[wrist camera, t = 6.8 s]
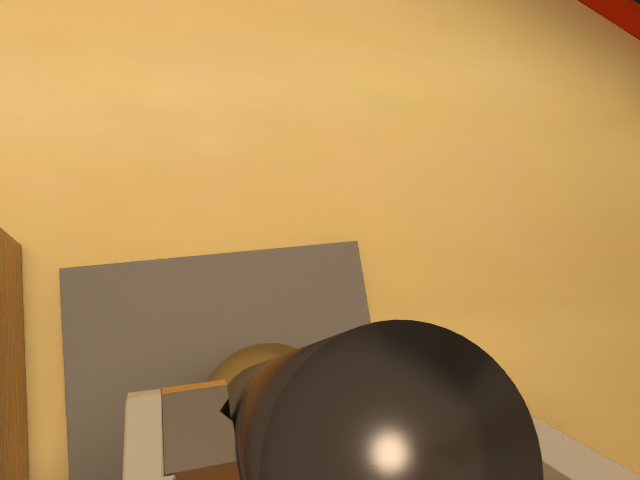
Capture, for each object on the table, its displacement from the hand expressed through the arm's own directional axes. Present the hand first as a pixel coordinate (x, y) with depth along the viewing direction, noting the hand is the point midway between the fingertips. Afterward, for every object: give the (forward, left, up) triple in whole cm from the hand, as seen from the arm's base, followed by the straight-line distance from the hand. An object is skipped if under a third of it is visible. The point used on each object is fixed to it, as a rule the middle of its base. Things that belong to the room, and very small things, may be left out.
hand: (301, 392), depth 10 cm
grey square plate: (0, +1, -10) cm, 10 cm away
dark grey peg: (0, 0, -7) cm, 7 cm away
